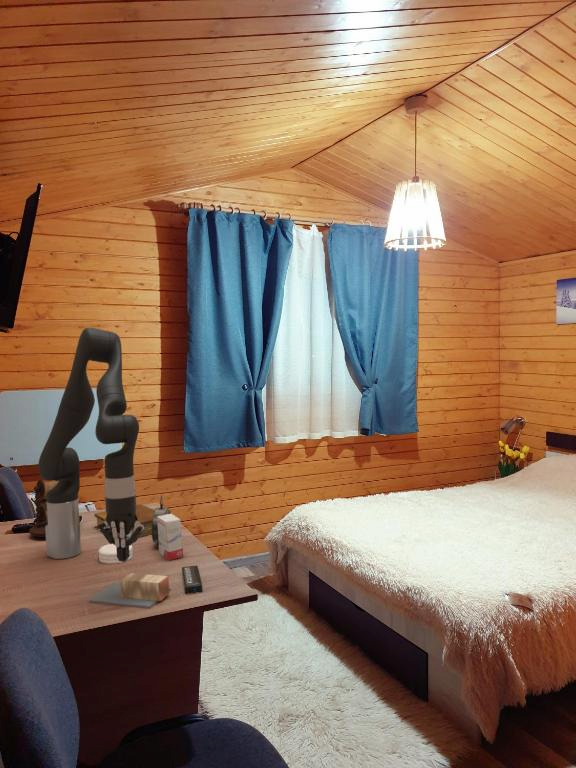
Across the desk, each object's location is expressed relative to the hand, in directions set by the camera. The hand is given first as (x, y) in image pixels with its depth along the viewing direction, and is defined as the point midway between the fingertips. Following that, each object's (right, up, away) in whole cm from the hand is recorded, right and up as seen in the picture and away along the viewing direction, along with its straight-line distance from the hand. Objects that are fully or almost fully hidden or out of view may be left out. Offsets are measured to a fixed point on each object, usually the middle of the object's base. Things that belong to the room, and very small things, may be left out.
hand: (123, 560), depth 148 cm
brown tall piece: (-40, -8, +55) cm, 68 cm away
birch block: (+1, -6, 0) cm, 7 cm away
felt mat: (+2, -9, 0) cm, 9 cm away
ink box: (+6, -8, +29) cm, 31 cm away
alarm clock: (+2, -7, +39) cm, 40 cm away
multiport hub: (+16, -9, +8) cm, 20 cm away
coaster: (-10, -8, +29) cm, 31 cm away
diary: (-13, -7, +58) cm, 60 cm away
